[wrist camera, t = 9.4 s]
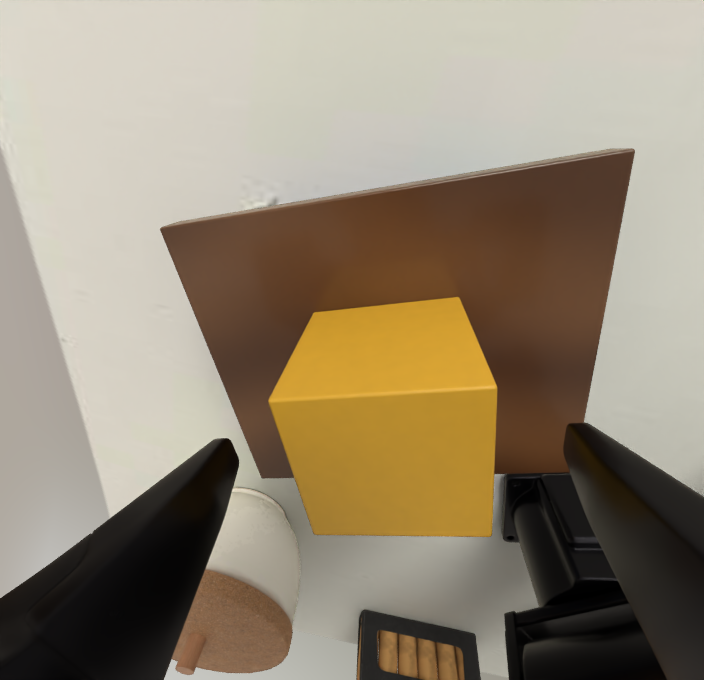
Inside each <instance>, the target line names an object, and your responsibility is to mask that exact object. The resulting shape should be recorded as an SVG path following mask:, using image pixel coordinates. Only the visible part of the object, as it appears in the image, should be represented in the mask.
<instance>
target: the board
mask: <svg viewBox="0 0 704 680" xmlns="http://www.w3.org/2000/svg"><path fill="white" fill-rule="evenodd" d="M634 154H635V150H634V149H606V150H600V151H594V152H588V153H583V154H577V155H571V156H565V157H559V158H553V159H547V160H541V161H535V162H529V163H523V164H517V165H511V166H506V167H500V168H494V169H488V170H482V171H476V172H470V173H464V174H458V175H452V176H446V177H440V178H434V179H428V180H423V181H417V182H411V183H405V184H399V185H393V186H387V187H381V188H375V189H369V190H363V191H357V192H351V193H346V194H340V195H334V196H328V197H322V198H316V199H310V200H304V201H298V202H292V203H286V204H280V205H274V206H268V207H263V208H257V209H251V210H245V211H239V212H233V213H227V214H221V215H215V216H209V217H203V218H197V219H191V220H186V221H180V222H176V223H173V224H170V225H167V226H164V227H161V228H160V230H161V233H162V235H163V238H164V240H165V243H166V245H167V248H168V250H169V253H170V255H171V257H172V260H173V262H174V265H175V267H176V270H177V272H178V275H179V277H180V279H181V282H182V284H183V287H184V289H185V292H186V294H187V297H188V299H189V301H190V304H191V306H192V309H193V311H194V314H195V316H196V319H197V321H198V324H199V326H200V328H201V331H202V333H203V336H204V338H205V341H206V343H207V346H208V348H209V350H210V353H211V355H212V358H213V360H214V363H215V365H216V368H217V370H218V372H219V375H220V377H221V380H222V382H223V385H224V387H225V390H226V392H227V395H228V397H229V399H230V402H231V404H232V407H233V409H234V412H235V414H236V417H237V419H238V421H239V424H240V426H241V429H242V431H243V434H244V436H245V439H246V441H247V443H248V446H249V448H250V451H251V453H252V456H253V458H254V461H255V463H256V466H257V468H258V470H259V473H260V475H261V478H294V475H293V472H292V470H291V467H290V464H289V461H288V458H287V455H286V452H285V449H284V446H283V444H282V441H281V438H280V435H279V432H278V429H277V426H276V423H275V420H274V417H273V415H272V412H271V409H270V406H269V402H268V401H269V398H270V396H271V394H272V392H273V390H274V388H275V386H276V384H277V382H278V380H279V378H280V376H281V375H282V373H283V371H284V369H285V367H286V365H287V363H288V361H289V359H290V357H291V355H292V353H293V351H294V349H295V348H296V346H297V344H298V342H299V340H300V338H301V336H302V334H303V332H304V330H305V328H306V326H307V324H308V323H309V321H310V319H311V317H312V315H313V313H315V312H323V311H332V310H341V309H350V308H360V307H369V306H378V305H388V304H397V303H406V302H415V301H425V300H434V299H443V298H453V297H459V298H460V300H461V303H462V305H463V307H464V310H465V312H466V314H467V317H468V319H469V321H470V324H471V326H472V329H473V331H474V333H475V336H476V338H477V340H478V343H479V345H480V347H481V350H482V352H483V354H484V357H485V359H486V362H487V364H488V366H489V369H490V371H491V373H492V376H493V378H494V380H495V383H496V385H497V413H496V440H495V466H494V474H519V473H570V471H569V469H568V466H567V463H566V460H565V458H564V454H563V444H564V438H565V432H566V427H567V425H568V424H570V423H584V418H585V413H586V408H587V402H588V397H589V392H590V386H591V381H592V376H593V371H594V365H595V360H596V355H597V349H598V344H599V339H600V333H601V328H602V323H603V318H604V312H605V307H606V302H607V296H608V291H609V286H610V281H611V275H612V270H613V265H614V259H615V254H616V249H617V244H618V238H619V233H620V228H621V222H622V217H623V212H624V207H625V201H626V196H627V191H628V185H629V180H630V175H631V169H632V164H633V159H634Z"/></svg>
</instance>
